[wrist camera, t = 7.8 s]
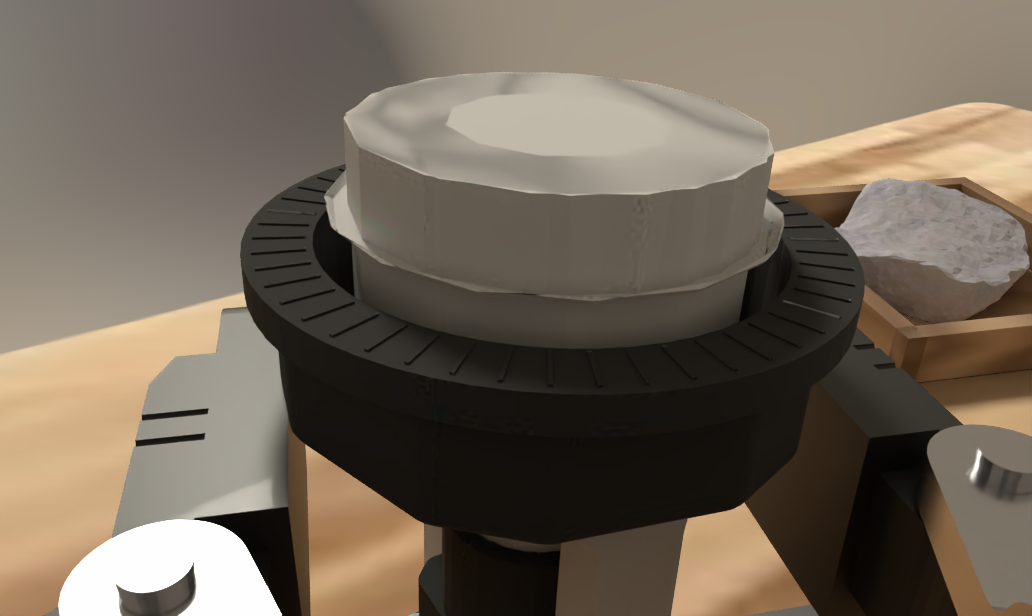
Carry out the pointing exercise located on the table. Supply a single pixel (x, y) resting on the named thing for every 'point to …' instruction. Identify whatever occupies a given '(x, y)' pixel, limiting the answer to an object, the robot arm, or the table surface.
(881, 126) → the table surface
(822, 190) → the block coaster frame
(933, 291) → the stone block
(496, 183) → the push button
